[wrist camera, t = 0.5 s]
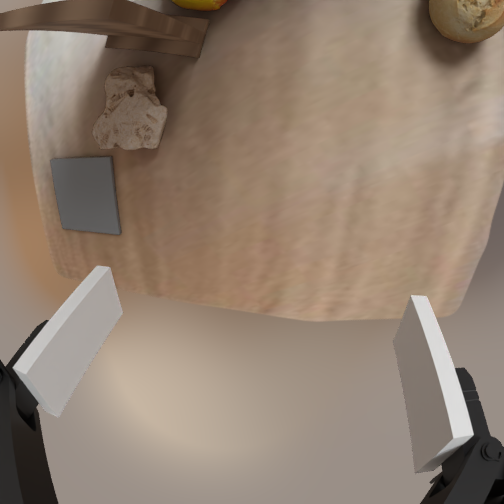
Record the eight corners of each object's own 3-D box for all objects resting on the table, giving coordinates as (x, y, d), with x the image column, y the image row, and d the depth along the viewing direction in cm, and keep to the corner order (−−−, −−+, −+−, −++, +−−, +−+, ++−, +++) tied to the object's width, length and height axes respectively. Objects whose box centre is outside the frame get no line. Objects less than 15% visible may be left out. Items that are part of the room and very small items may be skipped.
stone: (105, 136, 38) (84, 144, 34) (131, 58, 32) (111, 57, 28) (158, 160, 39) (141, 170, 35) (190, 80, 33) (175, 80, 29)
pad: (52, 158, 40) (50, 160, 40) (112, 156, 39) (109, 157, 39) (64, 227, 47) (62, 228, 46) (121, 232, 45) (119, 234, 45)
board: (109, 47, 31) (-10, 49, 14) (117, 13, 29) (2, -4, 12) (199, 58, 31) (102, 43, 14) (209, 20, 29) (122, -27, 12)
